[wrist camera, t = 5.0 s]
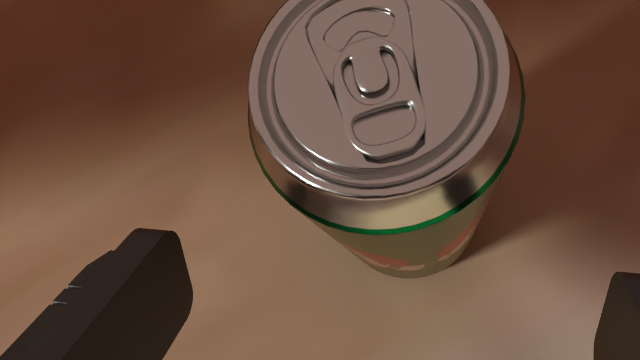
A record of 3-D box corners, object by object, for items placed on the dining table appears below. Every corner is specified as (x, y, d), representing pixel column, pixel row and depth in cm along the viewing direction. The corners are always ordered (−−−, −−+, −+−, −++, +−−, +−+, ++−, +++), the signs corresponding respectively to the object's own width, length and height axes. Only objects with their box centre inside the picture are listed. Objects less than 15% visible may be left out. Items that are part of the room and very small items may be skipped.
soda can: (453, 134, 20) (477, -103, 9) (495, 260, 19) (589, 170, 7) (329, 169, 21) (204, -6, 9) (360, 294, 19) (255, 261, 8)
